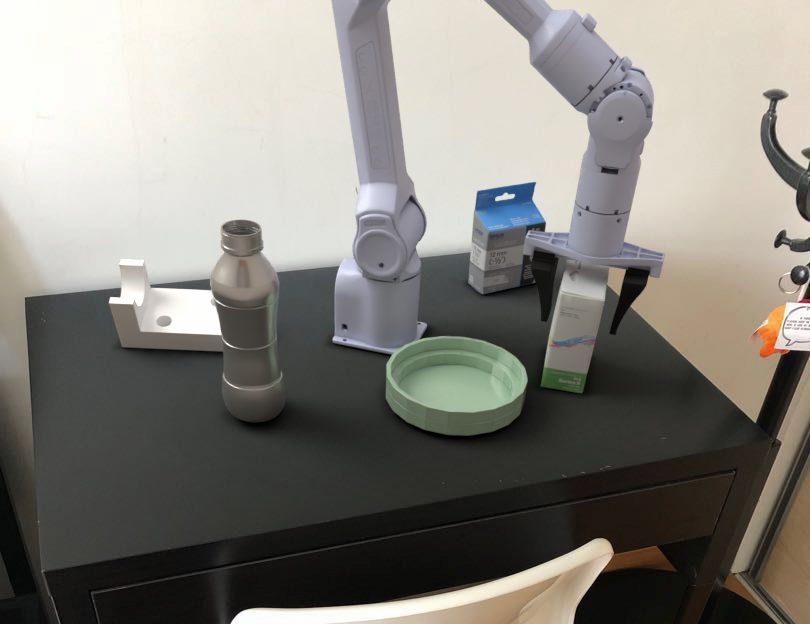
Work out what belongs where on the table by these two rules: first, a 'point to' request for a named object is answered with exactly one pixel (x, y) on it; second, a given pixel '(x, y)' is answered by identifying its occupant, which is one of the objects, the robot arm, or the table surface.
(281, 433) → the table surface
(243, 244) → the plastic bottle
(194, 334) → the bracket
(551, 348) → the ink box
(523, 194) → the label tape box
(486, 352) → the bowl
